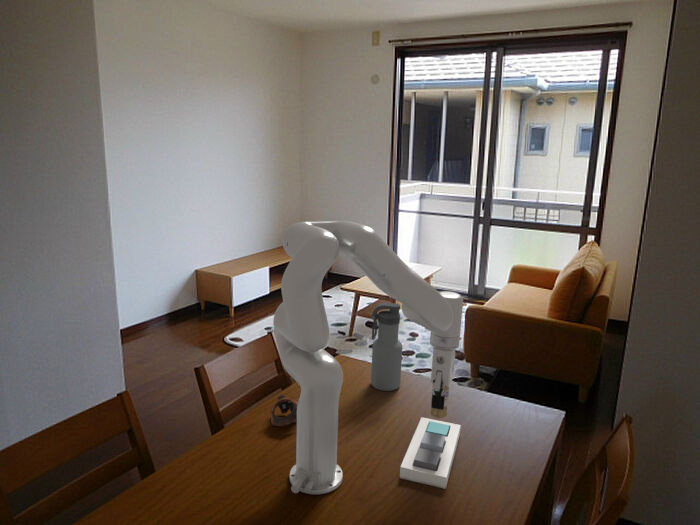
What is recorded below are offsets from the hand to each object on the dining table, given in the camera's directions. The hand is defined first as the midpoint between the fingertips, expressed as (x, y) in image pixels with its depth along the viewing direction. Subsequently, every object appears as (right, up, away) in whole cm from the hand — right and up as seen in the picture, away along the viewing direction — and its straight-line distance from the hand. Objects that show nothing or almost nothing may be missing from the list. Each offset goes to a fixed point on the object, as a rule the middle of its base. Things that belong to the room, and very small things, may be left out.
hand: (439, 403), depth 138 cm
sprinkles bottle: (0, -4, +1) cm, 4 cm away
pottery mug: (-42, -8, +10) cm, 44 cm away
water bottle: (-12, -3, +34) cm, 36 cm away
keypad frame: (-3, -12, -4) cm, 13 cm away
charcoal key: (-5, -12, -12) cm, 18 cm away
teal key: (0, -10, +3) cm, 10 cm away
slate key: (-3, -10, -5) cm, 12 cm away
